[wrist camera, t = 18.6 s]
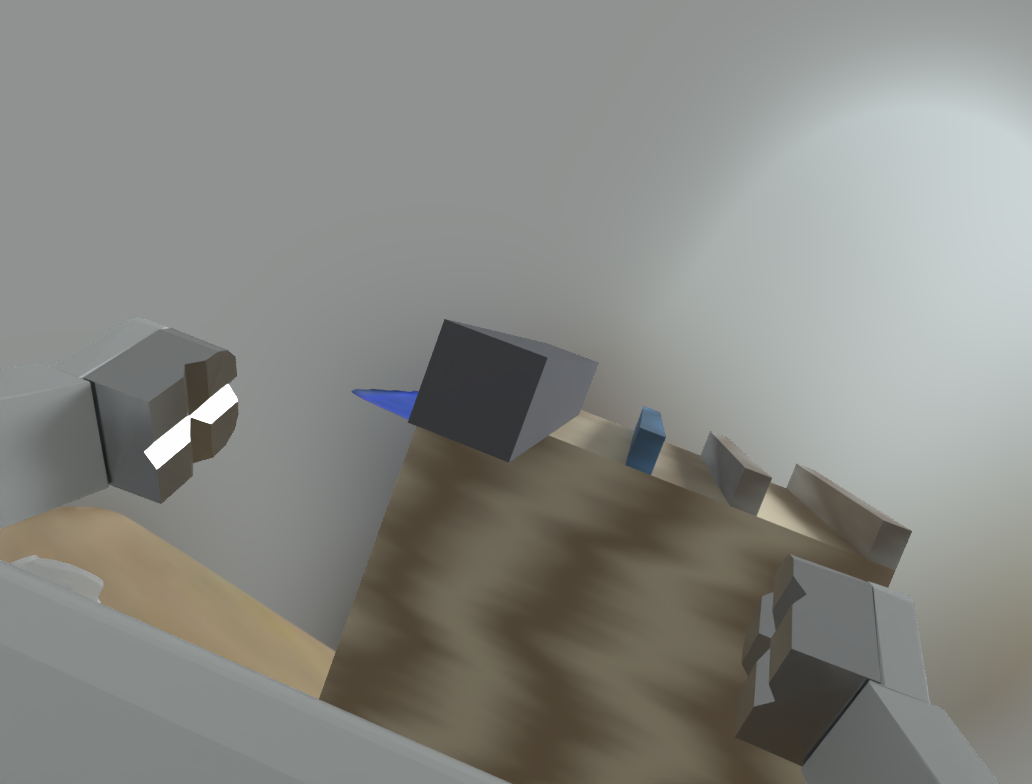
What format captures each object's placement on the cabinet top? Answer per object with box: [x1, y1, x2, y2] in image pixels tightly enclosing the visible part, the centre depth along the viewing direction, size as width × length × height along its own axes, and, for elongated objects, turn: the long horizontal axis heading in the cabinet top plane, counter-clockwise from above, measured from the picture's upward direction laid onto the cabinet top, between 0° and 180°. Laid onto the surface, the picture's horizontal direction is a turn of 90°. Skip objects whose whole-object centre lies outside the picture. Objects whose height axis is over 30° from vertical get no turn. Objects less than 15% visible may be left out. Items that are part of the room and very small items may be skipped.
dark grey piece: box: [408, 319, 598, 463], centre depth 31 cm, size 3×21×3 cm, turn 170°
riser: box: [319, 407, 912, 784], centre depth 37 cm, size 18×17×28 cm
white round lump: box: [10, 555, 104, 604], centre depth 44 cm, size 8×8×8 cm
